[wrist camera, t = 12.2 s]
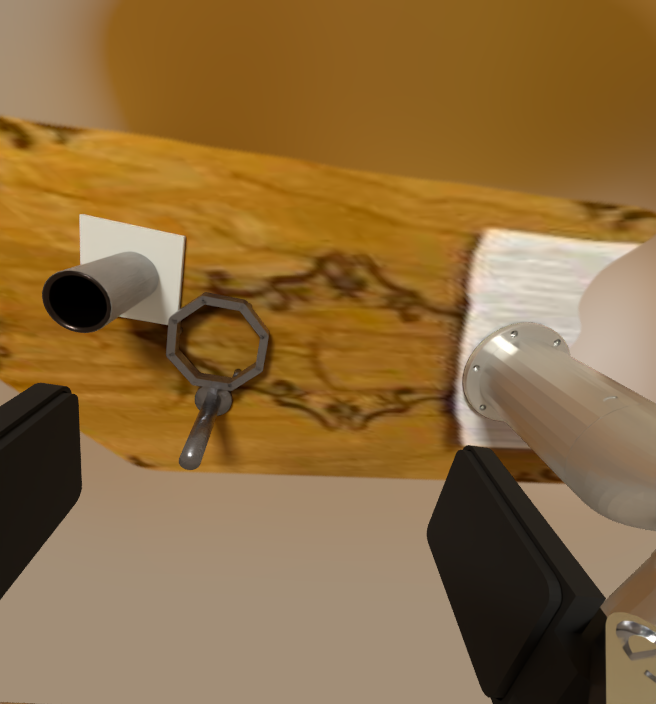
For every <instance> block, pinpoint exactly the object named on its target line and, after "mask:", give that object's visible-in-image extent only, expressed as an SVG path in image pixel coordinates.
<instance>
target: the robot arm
mask: <svg viewBox="0 0 656 704" xmlns="http://www.w3.org/2000/svg"><path fill="white" fill-rule="evenodd" d="M463 386H464V392H465V395H466V397H467V399H468V401H469V402H470V404H471V405H472V406H473V408H474V409H475V410H476V411H477V412H478V413H480V414H481V415H483V416H484V417H486V418H489V419H492V420H495V421H502V422H506V423H507V424H508V425H509V426H510V427H511V428H512V429H513V430H514V431H515V432H516V433H517V434H518V435H519V436H520V437H521V438H522V439H523V440H524V441H525V442H526V443H527V445H528V446H529V447H530V448H531V449H532V450H533V451H534V452H535V453H536V454H537V455H538V456H539V457H540V458H541V459H542V460H543V461H544V462H545V463H546V464H547V465H548V466H549V467H550V468H551V469H552V470H553V471H554V473H555V474H556V475H557V476H558V477H559V478H560V479H561V480H562V481H563V482H564V483H565V484H566V485H567V486H568V487H569V488H570V489H571V490H572V491H573V492H574V493H575V494H576V495H577V496H578V497H579V498H580V499H581V500H582V501H583V502H584V503H585V504H586V505H588V506H589V507H590V508H591V509H593V510H594V511H596V512H597V513H598V514H600V515H602V516H604V517H606V518H608V519H610V520H612V521H615V522H618V523H621V524H624V525H627V526H631V527H636V528H640V529H645V530H651V531H656V403H654V402H652V401H650V400H648V399H646V398H645V397H643V396H641V395H639V394H638V393H636V392H634V391H632V390H631V389H629V388H627V387H625V386H623V385H621V384H620V383H618V382H616V381H614V380H612V379H611V378H609V377H607V376H605V375H604V374H602V373H600V372H598V371H596V370H594V369H593V368H591V367H589V366H587V365H586V364H584V363H582V362H580V361H578V360H577V359H575V358H573V357H571V356H570V352H569V348H568V346H567V344H566V342H565V340H564V339H563V338H562V337H561V336H560V335H559V334H558V333H557V332H555V331H554V330H552V329H550V328H548V327H546V326H544V325H542V324H537V323H530V322H522V323H517V324H511V325H509V326H506V327H503V328H501V329H499V330H497V331H496V332H494V333H492V334H491V335H489V336H488V337H487V338H486V339H484V340H483V341H482V342H481V343H480V344H479V345H478V347H477V348H476V349H475V350H474V352H473V353H472V355H471V356H470V358H469V360H468V363H467V365H466V368H465V372H464V377H463ZM81 489H82V478H81V453H80V429H79V404H78V397H77V395H75V394H72V393H71V390H70V388H68V387H67V386H60V385H53V384H46V383H37V384H34V385H33V386H31V387H30V388H28V389H27V390H25V391H23V392H22V393H20V394H19V395H17V396H16V397H14V398H13V399H11V400H10V401H8V402H6V403H5V404H3V405H2V406H0V599H1V598H2V597H3V595H4V594H5V593H6V591H7V590H8V589H9V588H10V587H11V585H12V584H13V583H14V581H15V580H16V579H17V578H18V576H19V575H20V574H21V573H22V571H23V570H24V569H25V567H26V566H27V565H28V564H29V562H30V561H31V560H32V558H33V557H34V556H35V554H36V553H37V552H38V551H39V550H40V548H41V547H42V545H43V544H44V543H45V542H46V541H47V539H48V538H49V537H50V536H51V534H52V533H53V532H54V530H55V529H56V528H57V526H58V525H59V524H60V523H61V521H62V520H63V519H64V518H65V516H66V515H67V514H68V513H69V511H70V510H71V509H72V507H73V506H74V505H75V504H76V502H77V500H78V498H79V496H80V493H81ZM427 540H428V544H429V546H430V549H431V552H432V554H433V557H434V560H435V563H436V565H437V568H438V571H439V574H440V577H441V579H442V582H443V585H444V588H445V590H446V593H447V596H448V599H449V601H450V604H451V607H452V609H453V612H454V615H455V617H456V621H457V623H458V626H459V629H460V631H461V634H462V637H463V640H464V642H465V645H466V648H467V651H468V654H469V656H470V659H471V662H472V665H473V667H474V670H475V673H476V676H477V678H478V681H479V684H480V686H481V688H482V691H483V692H484V694H485V695H486V696H487V697H490V698H491V700H492V703H493V704H656V550H655V551H654V552H653V553H652V554H651V557H650V558H649V559H647V560H646V561H645V562H644V563H643V564H642V565H641V567H639V568H638V569H637V570H636V571H635V572H634V573H633V574H632V575H631V576H630V577H629V578H628V579H627V580H626V581H625V582H624V583H622V584H621V585H620V587H618V588H617V589H616V590H615V591H614V592H613V593H612V594H611V595H610V596H609V598H608V599H607V600H605V599H606V598H605V597H604V596H603V594H602V593H601V592H600V590H599V589H598V588H597V586H596V585H595V584H594V582H593V581H592V580H591V579H590V577H589V576H588V575H587V573H586V572H585V571H584V569H583V568H582V567H581V566H580V564H579V563H578V562H577V560H576V559H575V558H574V556H573V555H572V554H571V553H570V551H569V550H568V549H567V547H566V546H565V545H564V543H563V542H562V541H561V539H560V538H559V537H558V536H557V534H556V533H555V532H554V531H553V529H552V528H551V527H550V525H549V524H548V523H547V521H546V520H545V519H544V517H543V516H542V515H541V513H540V512H539V511H538V509H537V508H536V507H535V506H534V504H533V503H532V502H531V500H530V499H529V498H528V496H527V495H526V494H525V493H524V491H523V490H522V489H521V487H520V486H519V485H518V483H517V482H516V481H515V480H514V478H513V477H512V476H511V474H510V473H509V472H508V470H507V469H506V468H505V466H504V465H503V464H502V463H501V461H500V460H499V459H498V457H497V456H496V455H495V453H494V452H493V451H492V450H491V449H489V448H484V447H477V446H470V445H468V446H465V447H464V448H463V450H459V451H458V452H457V453H456V455H455V458H454V461H453V463H452V466H451V468H450V471H449V473H448V476H447V478H446V481H445V484H444V486H443V489H442V491H441V494H440V496H439V499H438V502H437V504H436V507H435V509H434V512H433V514H432V517H431V519H430V522H429V524H428V528H427ZM0 704H33V703H8V702H0Z"/></svg>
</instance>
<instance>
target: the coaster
mask: <svg viewBox="0 0 656 704" xmlns="http://www.w3.org/2000/svg"><path fill="white" fill-rule="evenodd" d="M185 238H186V236H182V235H177V234H173V233H168V232H163V231H159V230H154V229H150V228H145V227H140V226H136V225H131V224H126V223H122V222H117V221H112V220H108V219H103V218H98V217H94V216H89V215H84V214H80V263H81V265H82V264H86V263H89V262H92V261H95V260H99V259H102V258H105V257H108V256H111V255H115V254H118V253H121V252H129V251H130V252H137V253H140V254H142V255H144V256H145V257H147V258H148V259H149V260H150V261H151V262H152V263H153V264H154V266H155V268H156V270H157V273H158V285H157V288H156V289H155V291H154V292H153V293H152V294H151V295H150V296H148V297H147V298H145V299H144V300H142V301H141V302H140V303H138V304H137V305H135V306H134V307H132V308H131V309H129V310H128V311H126V312H125V313H123V314H122V315H120V316H119V317H124V318H130V319H136V320H141V321H147V322H153V323H159V324H164V325H168V321H169V318H170V317H171V316H172V315H173V314H174V313H175V312H177V311H178V310H180V300H181V287H182V275H183V263H184V251H185Z"/></svg>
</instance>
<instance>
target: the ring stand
mask: <svg viewBox="0 0 656 704" xmlns="http://www.w3.org/2000/svg"><path fill="white" fill-rule="evenodd" d="M204 304H205V305H211V306H216V307H221V308H227V309H232V310H237V311H240V312H241V313H242V314H243V316H244V317H245V318H246V320H247V321H248V322H249V324H250V325H251V326H252V327H253V329H254V330H255V331H256V333H257V334H258V335H259V337H260V343H259V349H258V355H257V361H256V362H255V363H254V364H252V365H251V366H249V367H248V368H246V369H244V370H243V371H241V370H240V369H236V370H235V372H234V375H233V377H232V378H230V377H223V376H217V375H211V374H204V373H200V372H199V371H198V370H197V369H196V368H195V367H194V366H193V365H192V363H191V362H190V361H189V360H188V359H187V358H186V357H185V356H184V354H183V353H182V352H181V351H180V350H179V338H180V334H181V333H182V332H183V328H182V327H181V320H182V319H184V318H185V317H187V316H188V315H190V314H191V313H193V312H194V311H196V310H197V309H199V308H200V307H201V306H203V305H204ZM268 338H269V330H268V329H267V327H266V326H265V325H264V323H263V322H262V321H261V319H260V318H259V317H258V315H257V314H256V313H255V311H254V310H253V309H252V305H251V304H250V303H248V302H247V301H246V300H243V299H238V298H233V297H227V296H222V295H217V294H212V293H207V292H205V293H203V294H202V295H200V296H199V297H197V298H196V299H194V300H193V301H191V302H190V303H188V304H187V305H186V306H184V307H183V308H181V309H180V310H178V311H177V312H175V313H174V314H173V315H172V316H171V317H170V318H169V321H168V335H167V349H166V356H167V357H168V359H169V360H170V361H171V362H172V363H173V364H174V365H175V366H176V367H177V368H178V370H179V371H180V372H181V373H182V374H183V375H184V376H185V377H186V378H187V379H188V380H189V382H190V383H191V384H192V385H196V386H201V387H200V388H199V389H198V391H197V393H196V395H195V404H196V406H197V408H198V409H199V410H200V412H199V414H198V416H197V418H196V421H195V423H194V425H193V428H192V430H191V432H190V435H189V437H188V439H187V441H186V444H185V446H184V448H183V451H182V453H181V455H180V458H179V464H180V466H181V467H183V468H184V469H187V470H193V469H196V468H198V467H199V465H200V463H201V460H202V457H203V454H204V451H205V448H206V446H207V443H208V440H209V437H210V434H211V431H212V428H213V425H214V422H215V419H216V417H217V416H219V415H222V414H224V413H226V412H227V411H228V410H229V408H230V406H231V403H232V394H231V392H230V391H231V390H234V389H235V388H237V387H239V386H240V385H242V384H243V383H245V382H247V381H248V380H250V379H251V378H253V377H255V376H256V375H258V374H259V373H261V372H262V371H263V367H264V361H265V355H266V350H267V344H268Z"/></svg>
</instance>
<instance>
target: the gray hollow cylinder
mask: <svg viewBox="0 0 656 704" xmlns="http://www.w3.org/2000/svg"><path fill="white" fill-rule="evenodd" d="M157 285H158V273H157V270H156V268H155V266H154V264H153V263H152V262H151V261H150V260H149V259H148V258H147V257H145V256H144V255H142V254H140V253H137V252H130V251H129V252H121V253H118V254H115V255H111V256H108V257H105V258H102V259H99V260H95V261H92V262H89V263H86V264H82V265H79V266H76V267H73V268H69V269H66V270H63V271H60V272H57V273H55V274H53V275H52V276H51V277H49V278H48V280H47V281H46V282H45V284H44V287H43V291H42V299H43V303H44V306H45V309H46V310H47V312H48V314H49V315H50V316H51V317H52V319H53V320H54V321H56V322H57V323H58V324H59V325H61V326H63V327H64V328H66V329H69V330H71V331H75V332H80V333H89V332H94V331H97V330H99V329H101V328H102V327H104V326H106V325H107V324H108V323H110V322H111V321H113V320H114V319H116V318H117V317H119V316H120V315H122V314H123V313H125V312H126V311H128V310H129V309H131V308H132V307H134V306H135V305H137V304H138V303H140V302H141V301H142V300H144V299H145V298H147V297H148V296H150V295H151V294H152V293H153V292H154V291H155V289H156V288H157Z"/></svg>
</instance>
